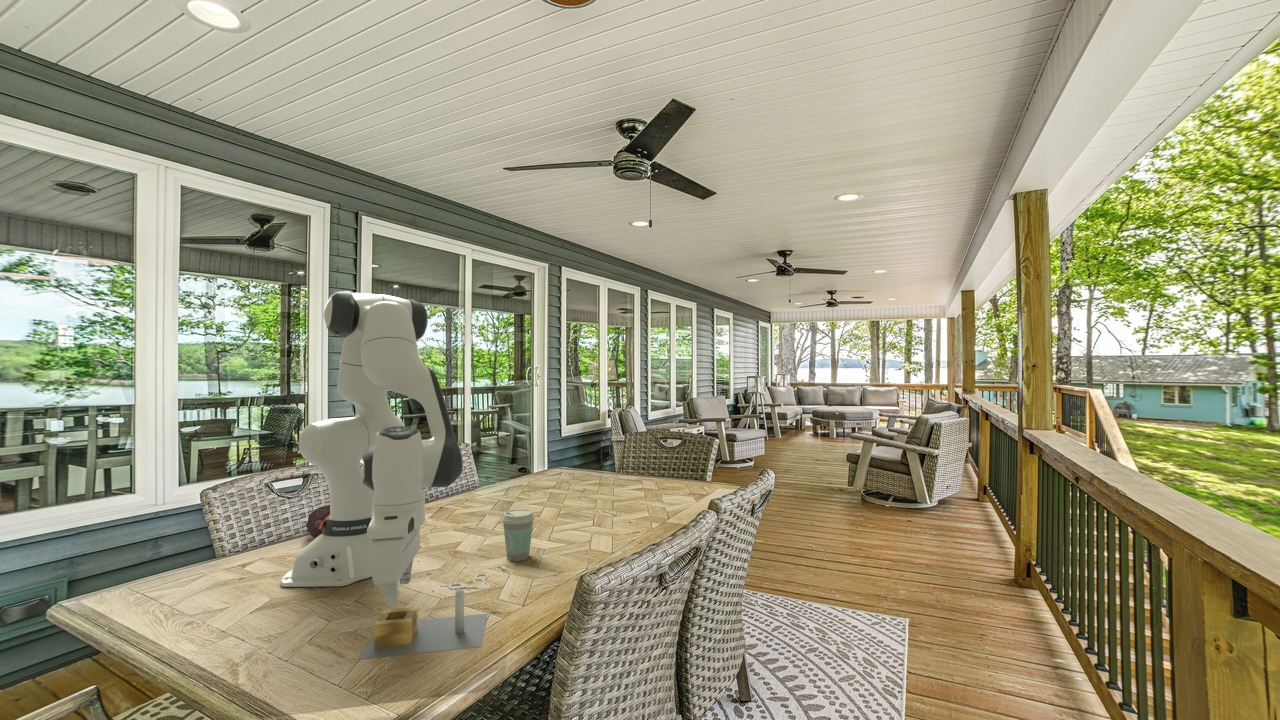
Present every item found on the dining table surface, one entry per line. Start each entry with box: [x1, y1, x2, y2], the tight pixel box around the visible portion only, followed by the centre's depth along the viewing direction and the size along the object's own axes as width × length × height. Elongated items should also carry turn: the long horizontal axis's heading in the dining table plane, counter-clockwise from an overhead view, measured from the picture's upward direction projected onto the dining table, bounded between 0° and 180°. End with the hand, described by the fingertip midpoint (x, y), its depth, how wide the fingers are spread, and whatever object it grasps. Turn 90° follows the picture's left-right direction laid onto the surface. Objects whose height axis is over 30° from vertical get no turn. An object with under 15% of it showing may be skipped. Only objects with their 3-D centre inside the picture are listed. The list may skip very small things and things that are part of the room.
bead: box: [373, 606, 419, 648], centre depth 96 cm, size 6×6×4 cm
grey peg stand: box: [357, 588, 489, 661], centre depth 97 cm, size 20×13×9 cm, turn 102°
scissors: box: [440, 573, 519, 598], centre depth 121 cm, size 11×1×20 cm
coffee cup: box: [501, 509, 535, 562], centre depth 142 cm, size 8×9×12 cm
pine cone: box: [305, 504, 330, 540], centre depth 159 cm, size 18×10×10 cm, turn 50°
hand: (399, 592), depth 95 cm, fingers open, 8 cm apart
